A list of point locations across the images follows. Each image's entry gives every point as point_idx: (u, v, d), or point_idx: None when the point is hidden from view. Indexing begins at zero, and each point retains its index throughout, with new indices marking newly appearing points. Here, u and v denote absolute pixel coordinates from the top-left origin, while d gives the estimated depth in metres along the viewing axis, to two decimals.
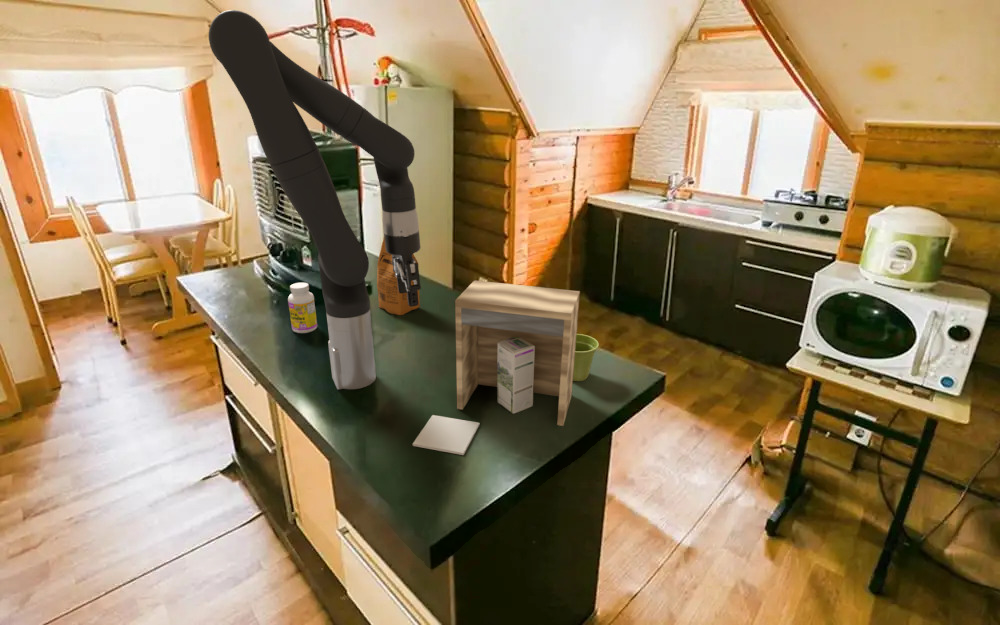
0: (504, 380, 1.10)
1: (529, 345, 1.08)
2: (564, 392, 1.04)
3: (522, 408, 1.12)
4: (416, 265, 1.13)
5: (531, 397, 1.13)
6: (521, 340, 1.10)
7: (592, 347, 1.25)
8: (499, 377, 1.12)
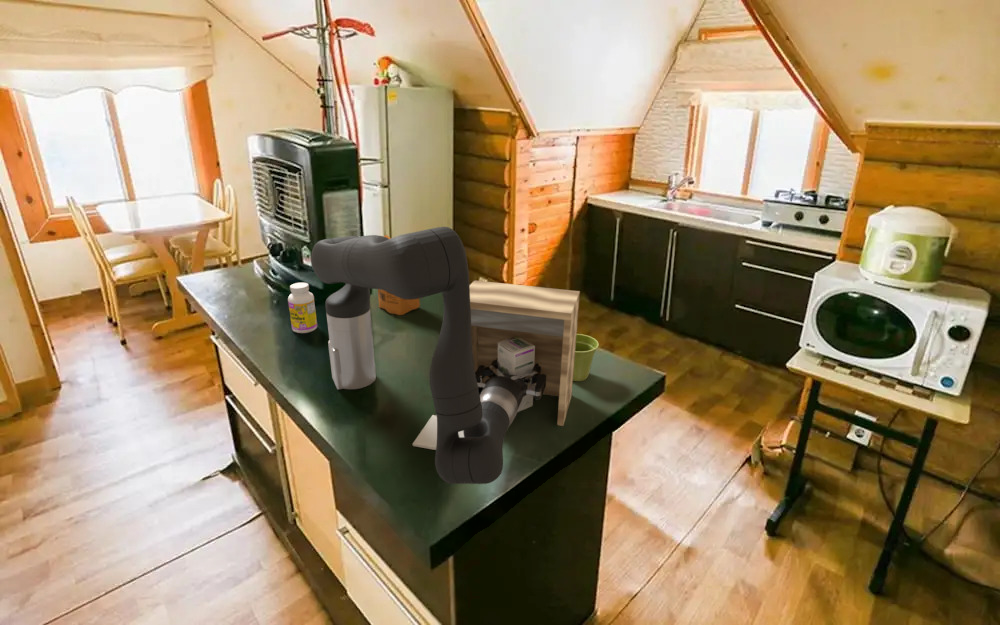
0: None
1: (529, 345, 1.08)
2: (564, 392, 1.04)
3: (522, 408, 1.12)
4: None
5: (531, 397, 1.13)
6: (522, 340, 1.10)
7: (592, 347, 1.25)
8: None
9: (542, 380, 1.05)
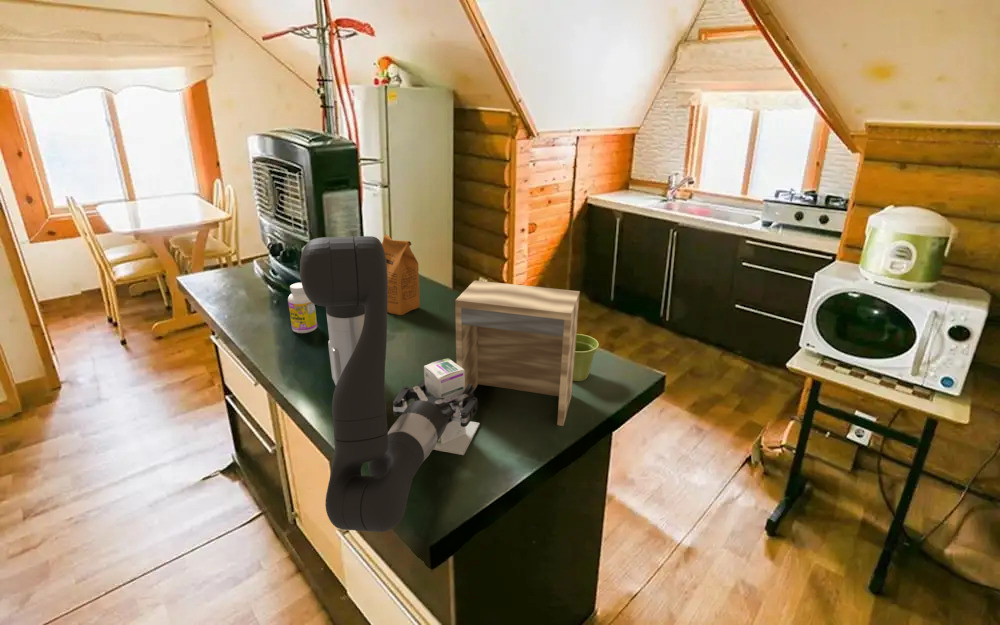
0: None
1: (458, 369, 0.97)
2: (564, 392, 1.04)
3: (453, 438, 1.01)
4: None
5: None
6: (451, 363, 1.00)
7: (592, 347, 1.25)
8: None
9: (471, 405, 0.93)
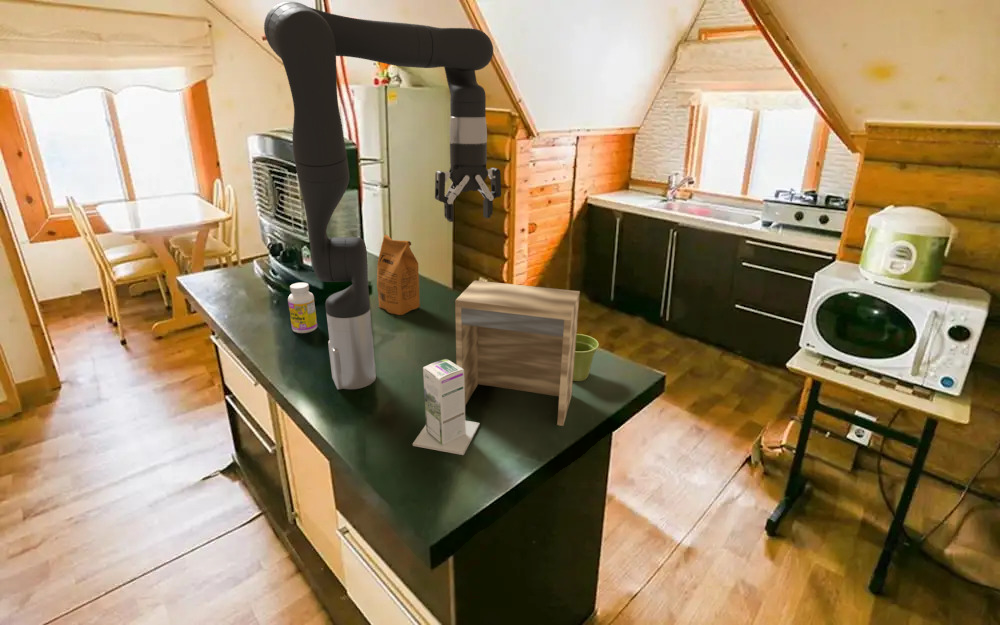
0: (431, 408, 0.99)
1: (458, 369, 0.97)
2: (564, 392, 1.04)
3: (453, 438, 1.01)
4: (439, 173, 1.08)
5: (463, 425, 1.02)
6: (450, 363, 0.99)
7: (592, 347, 1.25)
8: (427, 405, 1.01)
9: None
